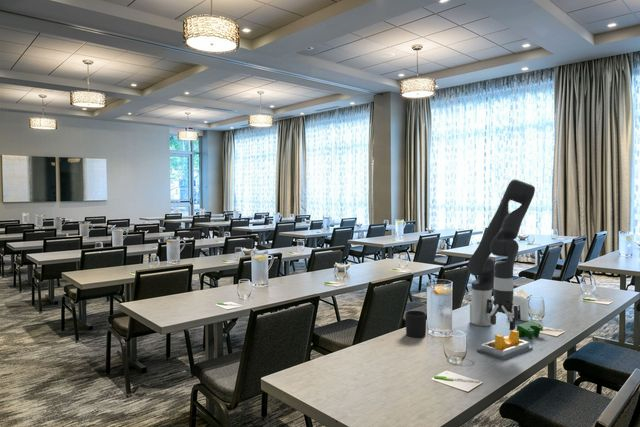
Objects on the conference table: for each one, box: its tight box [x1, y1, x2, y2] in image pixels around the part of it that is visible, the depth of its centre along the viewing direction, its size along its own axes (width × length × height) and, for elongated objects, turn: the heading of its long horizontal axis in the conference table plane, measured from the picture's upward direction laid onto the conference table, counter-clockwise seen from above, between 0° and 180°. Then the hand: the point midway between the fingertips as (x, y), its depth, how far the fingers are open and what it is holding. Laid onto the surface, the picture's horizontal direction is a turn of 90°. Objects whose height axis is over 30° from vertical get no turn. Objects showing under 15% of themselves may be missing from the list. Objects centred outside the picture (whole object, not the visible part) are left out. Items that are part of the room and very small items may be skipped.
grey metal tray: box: [476, 335, 534, 361], centre depth 186 cm, size 12×20×3 cm, turn 124°
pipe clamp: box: [494, 329, 520, 350], centre depth 186 cm, size 12×4×6 cm, turn 123°
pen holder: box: [404, 310, 427, 339], centre depth 208 cm, size 9×9×10 cm
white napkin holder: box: [507, 293, 530, 322], centre depth 230 cm, size 10×4×12 cm, turn 39°
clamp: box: [515, 320, 544, 340], centre depth 203 cm, size 12×6×9 cm, turn 117°
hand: (502, 327), depth 186 cm, fingers open, 8 cm apart
